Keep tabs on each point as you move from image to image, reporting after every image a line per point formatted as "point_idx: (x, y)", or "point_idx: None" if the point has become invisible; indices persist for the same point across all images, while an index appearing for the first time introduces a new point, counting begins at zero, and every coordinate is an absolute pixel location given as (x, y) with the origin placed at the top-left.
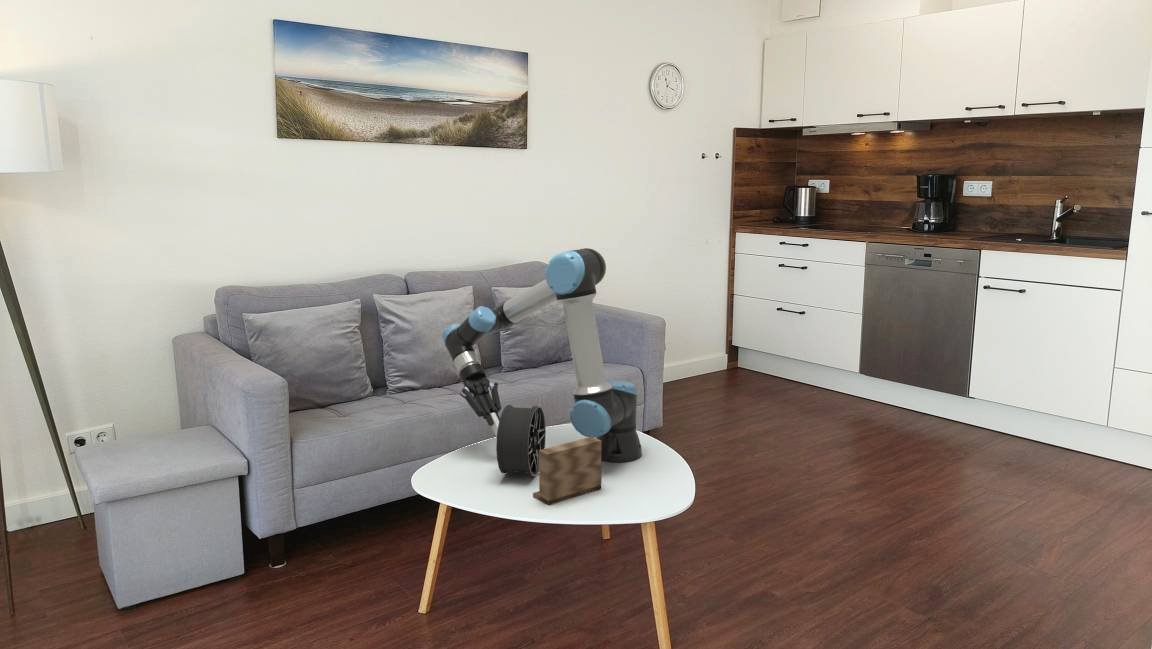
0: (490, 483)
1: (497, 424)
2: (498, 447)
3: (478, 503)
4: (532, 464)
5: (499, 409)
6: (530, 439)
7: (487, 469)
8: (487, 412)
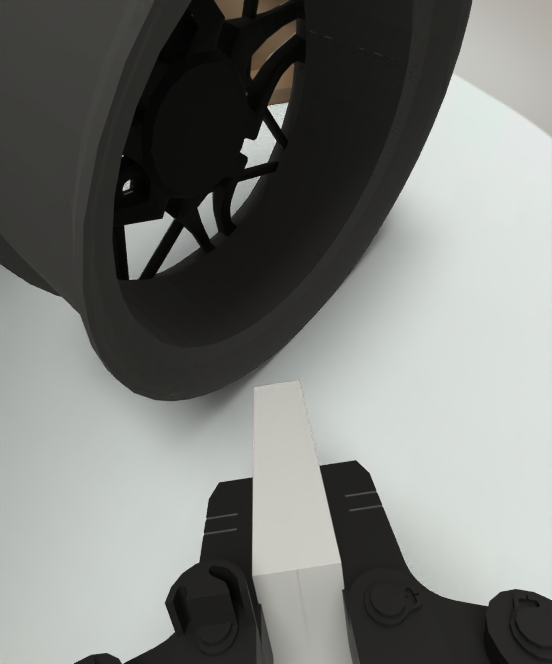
0: (427, 235)
1: (291, 423)
2: (444, 56)
3: (513, 112)
4: (230, 202)
5: (114, 661)
6: (243, 13)
7: (390, 388)
8: (406, 585)
